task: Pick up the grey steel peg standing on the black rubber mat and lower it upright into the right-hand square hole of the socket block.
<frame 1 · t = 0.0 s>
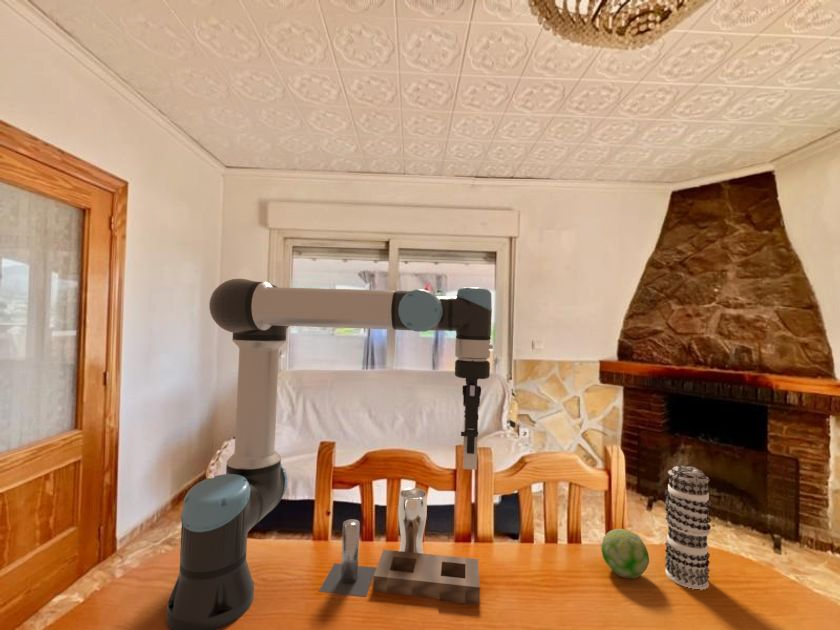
hand: (469, 457, 87), 28 cm above the table, fingers open, 13 cm apart
socket block: (427, 583, 88), on the table
decorative candle: (686, 579, 93), on the table
decorative ball: (624, 575, 93), on the table
steel peg: (349, 578, 88), resting on rubber mat
rubber mat: (349, 580, 88), on the table
beer glass: (411, 556, 98), on the table
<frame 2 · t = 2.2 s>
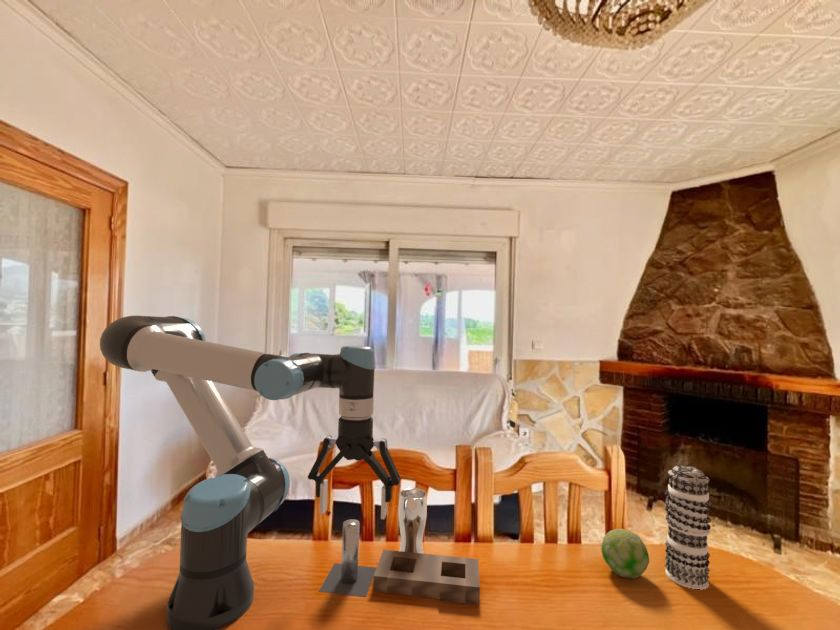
hand: (353, 514, 88), 14 cm above the table, fingers open, 13 cm apart
nothing on the table moved.
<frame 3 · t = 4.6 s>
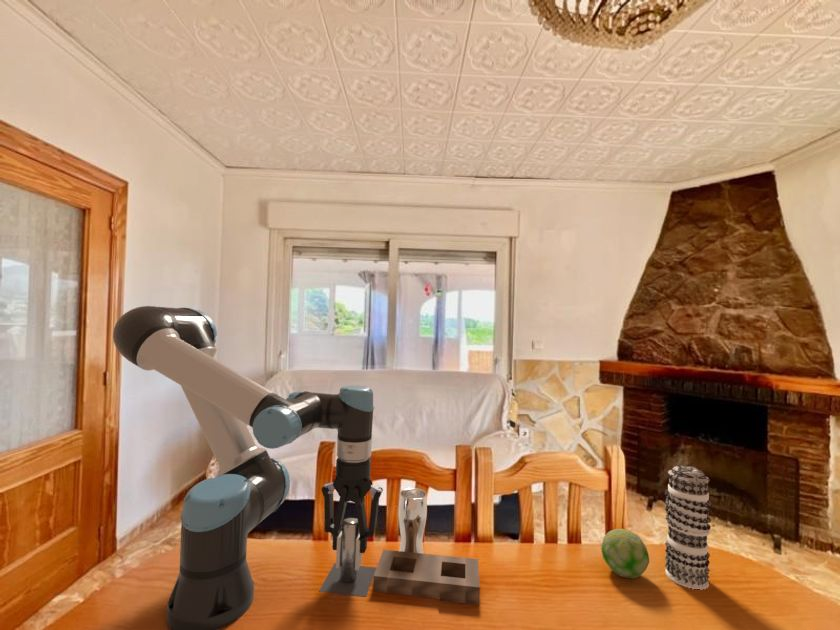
hand: (348, 565, 88), 3 cm above the table, fingers closed on steel peg, 3 cm apart
steel peg: (348, 577, 88), point 1 cm above the table, touching gripper
everything else where it was.
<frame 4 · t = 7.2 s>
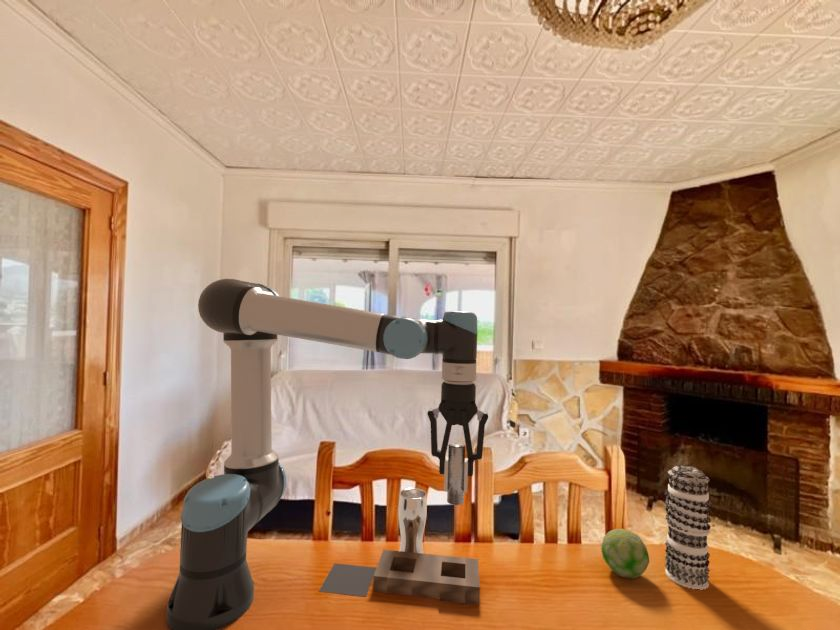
hand: (455, 489, 87), 21 cm above the table, fingers closed on steel peg, 3 cm apart
steel peg: (455, 501, 87), point 18 cm above the table, touching gripper
everything else where it was.
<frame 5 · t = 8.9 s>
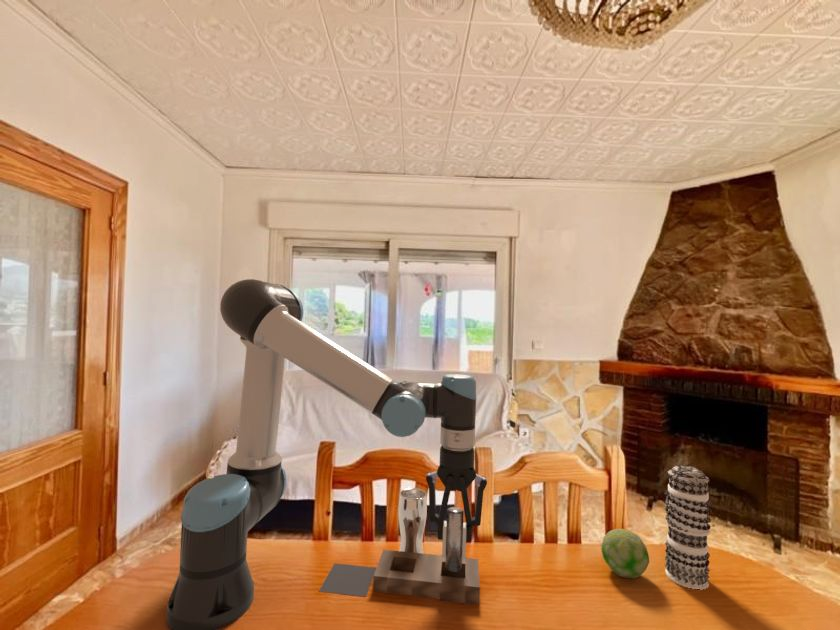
hand: (453, 554, 87), 7 cm above the table, fingers closed on steel peg, 3 cm apart
steel peg: (453, 566, 87), point 4 cm above the table, touching gripper
everything else where it was.
when the fingers open (4 cm above the table, at t = 10.0 s): steel peg drops 2 cm, resting in socket block.
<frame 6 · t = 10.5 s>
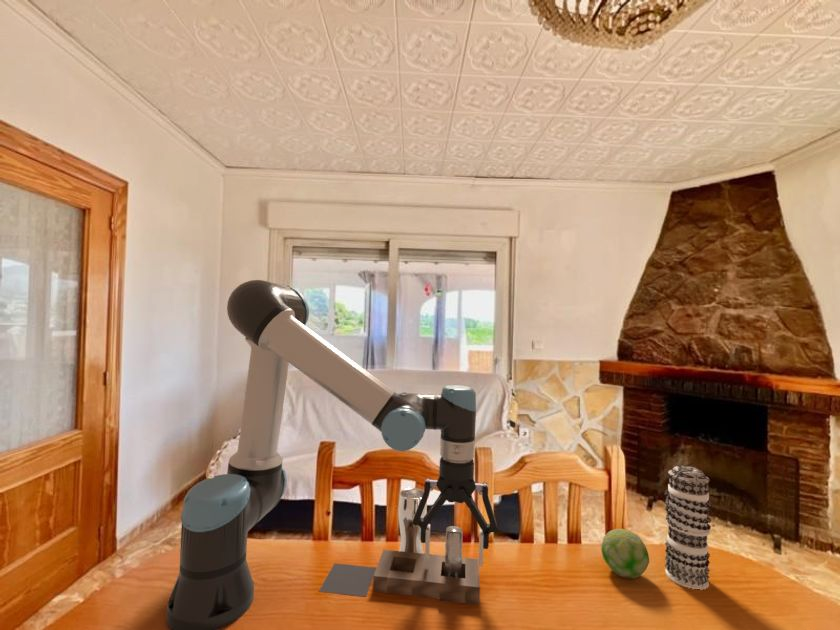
hand: (453, 560, 87), 6 cm above the table, fingers open, 11 cm apart
steel peg: (452, 586, 87), resting in socket block
everything else where it was.
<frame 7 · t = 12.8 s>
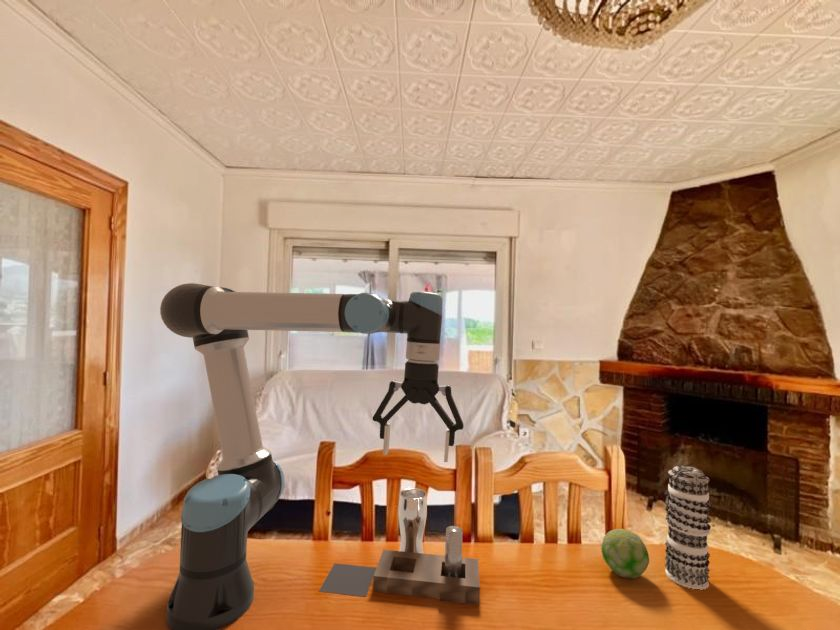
hand: (415, 456, 89), 27 cm above the table, fingers open, 13 cm apart
nothing on the table moved.
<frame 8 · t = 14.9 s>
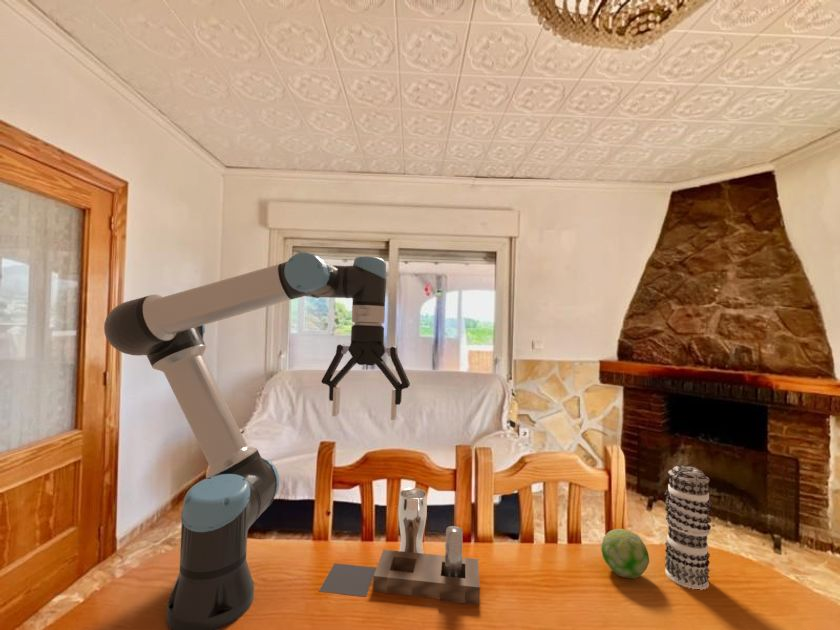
hand: (364, 417, 92), 35 cm above the table, fingers open, 13 cm apart
nothing on the table moved.
at the end: steel peg 0.1 cm from the target spot on the socket block, point 0.0 cm above the socket block's base; steel peg tilted 0°; the gripper is holding nothing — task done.
